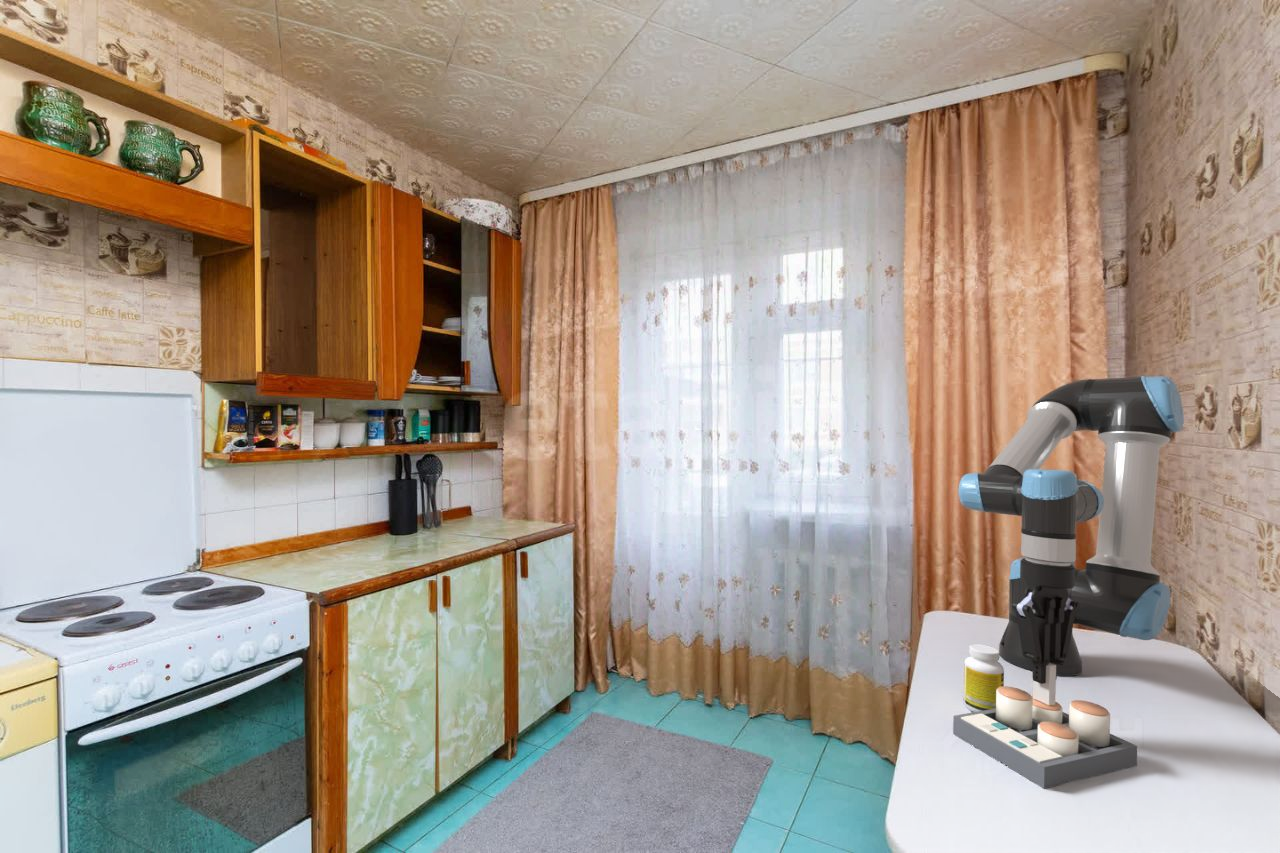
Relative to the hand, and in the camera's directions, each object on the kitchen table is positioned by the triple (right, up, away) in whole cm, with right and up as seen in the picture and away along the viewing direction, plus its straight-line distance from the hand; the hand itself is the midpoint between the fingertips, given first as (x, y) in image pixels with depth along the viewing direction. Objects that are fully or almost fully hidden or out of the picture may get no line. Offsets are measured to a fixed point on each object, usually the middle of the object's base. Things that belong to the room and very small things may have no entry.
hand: (1043, 701), depth 95 cm
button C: (-7, -2, -2) cm, 7 cm away
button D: (-4, -5, -9) cm, 11 cm away
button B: (+2, -3, -7) cm, 7 cm away
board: (-4, -5, -5) cm, 8 cm away
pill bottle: (-6, -6, +8) cm, 11 cm away
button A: (0, -5, 0) cm, 5 cm away
